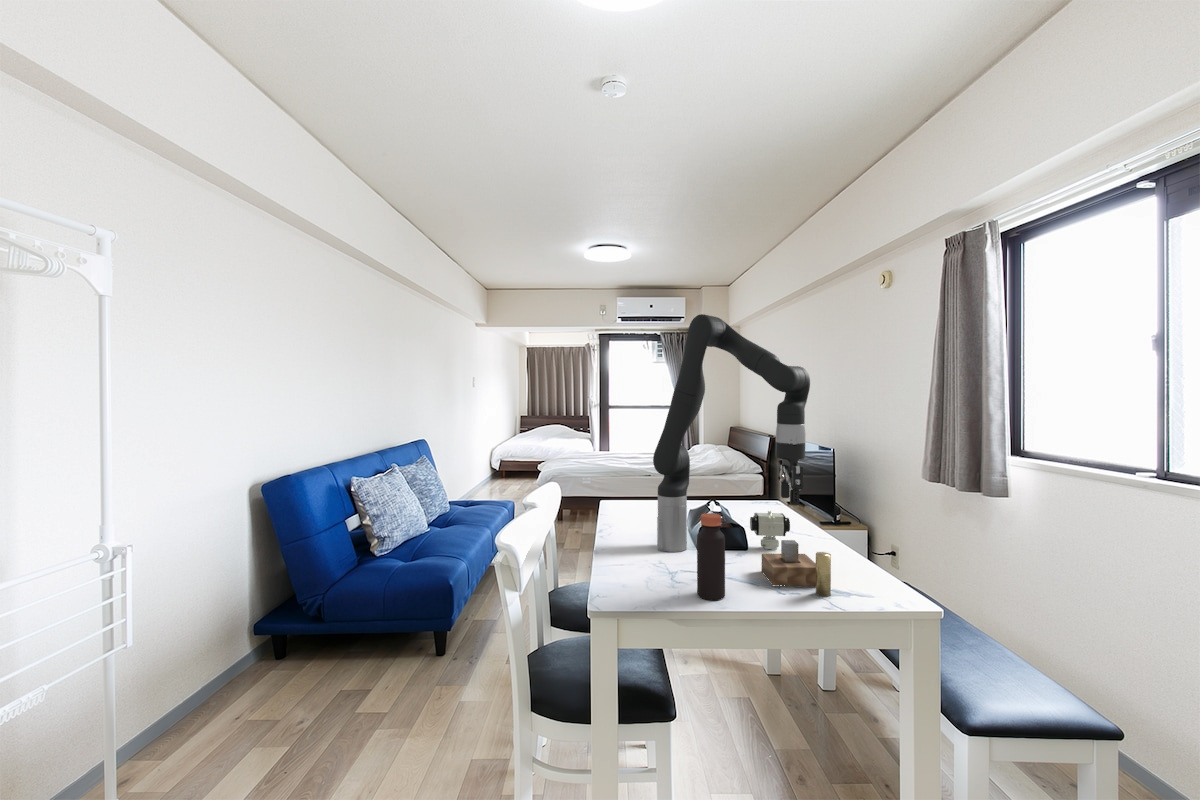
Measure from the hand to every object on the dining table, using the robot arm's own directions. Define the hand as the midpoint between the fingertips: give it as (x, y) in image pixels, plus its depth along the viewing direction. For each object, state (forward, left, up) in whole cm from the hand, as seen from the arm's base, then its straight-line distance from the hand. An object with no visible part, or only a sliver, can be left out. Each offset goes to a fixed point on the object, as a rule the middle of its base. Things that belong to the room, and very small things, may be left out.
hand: (789, 501), depth 150 cm
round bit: (+5, -11, -21) cm, 24 cm away
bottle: (-23, -13, -21) cm, 34 cm away
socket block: (0, 0, -21) cm, 21 cm away
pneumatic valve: (+2, +28, -21) cm, 35 cm away
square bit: (0, 0, -21) cm, 21 cm away
